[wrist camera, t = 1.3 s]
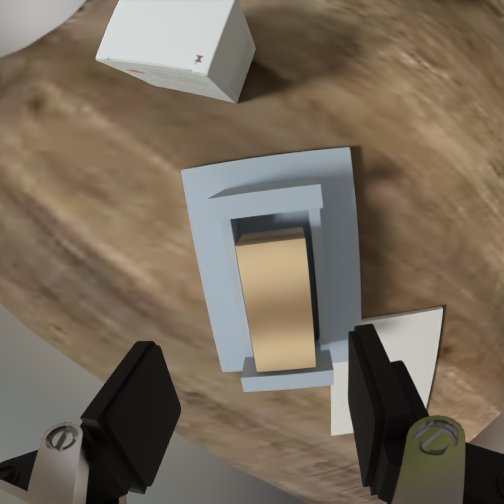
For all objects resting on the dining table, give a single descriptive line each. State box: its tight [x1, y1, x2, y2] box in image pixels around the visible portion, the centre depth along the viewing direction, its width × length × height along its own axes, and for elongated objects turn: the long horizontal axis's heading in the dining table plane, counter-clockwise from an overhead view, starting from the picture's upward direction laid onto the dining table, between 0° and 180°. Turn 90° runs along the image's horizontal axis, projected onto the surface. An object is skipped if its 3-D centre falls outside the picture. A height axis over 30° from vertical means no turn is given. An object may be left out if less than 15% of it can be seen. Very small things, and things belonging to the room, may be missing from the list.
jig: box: [181, 147, 361, 392], centre depth 26 cm, size 20×14×8 cm
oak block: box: [235, 227, 316, 372], centre depth 24 cm, size 10×4×4 cm, turn 8°
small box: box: [96, 0, 256, 104], centre depth 20 cm, size 8×6×10 cm
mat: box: [331, 306, 443, 436], centre depth 31 cm, size 12×16×1 cm
